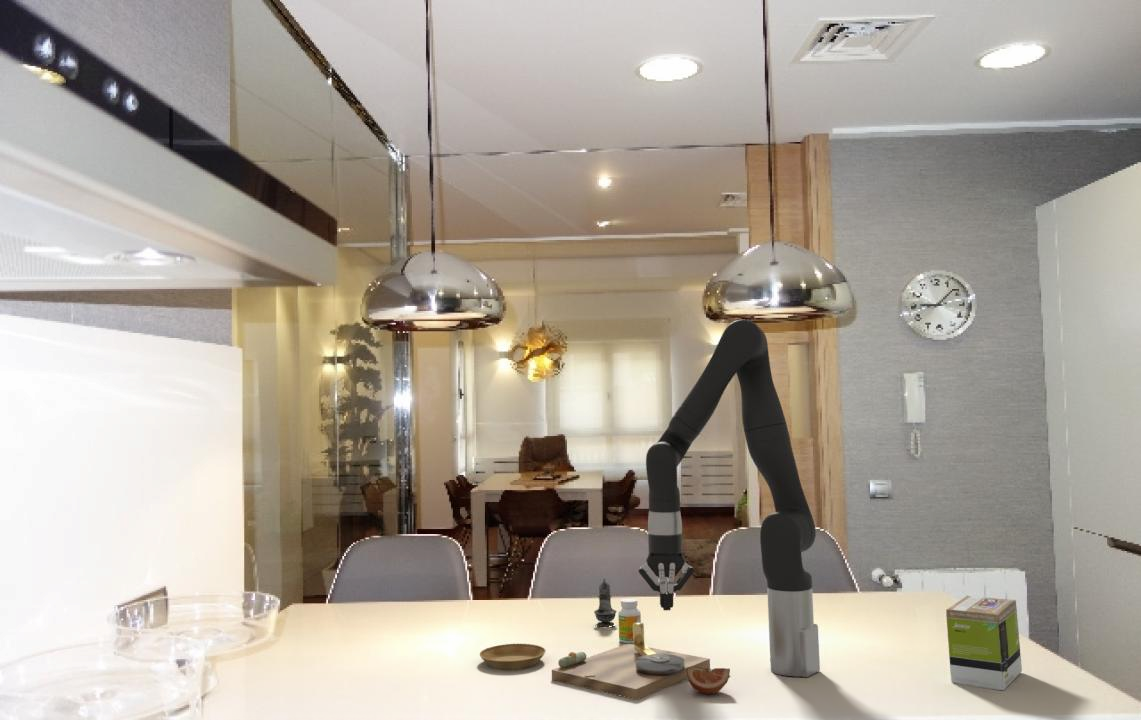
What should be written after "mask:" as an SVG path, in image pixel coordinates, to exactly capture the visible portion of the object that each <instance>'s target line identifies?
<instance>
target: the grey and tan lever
mask: <svg viewBox="0 0 1141 720" xmlns="http://www.w3.org/2000/svg"><path fill="white" fill-rule="evenodd" d="M632 644H633V645H634V649H635V650H636V651H637V652H638V653H639V654H641V655H642V656H641V657H638V658H637V659H636V669H637V670H638V671H639V672H642V673H646V674H652V675H668V674H675V673H679V672H681V671H683V670H684V669H685V664H684V659H683V658H682V657H680V656H676V655H671V654H656V653H655V652H654V651H652V650H651V649H650V648H651V647H649V646H648V645H646V644H645V624H644V623H643V622H641V623H640V622H637V623H633V643H632ZM648 647H649V648H648Z"/></svg>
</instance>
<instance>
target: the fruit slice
mask: <svg viewBox="0 0 1141 720" xmlns="http://www.w3.org/2000/svg"><path fill="white" fill-rule="evenodd" d="M730 672H731V668H726V667H725V668H723V667H722V668H721V667H717V668H713V669H706V668H697V667H687V678H686V679H687V680H688V683H689V685H690V686H691V687H692V688H693V690H695V691H697V692H699V693H702V694H706V695H708V694H710V695H711V694H715V693H718V692H720V691H721V690H722V689H723V688H724V687H725V686H726V684H727V683H728V682H729V678H731V675H730V674H731V673H730Z"/></svg>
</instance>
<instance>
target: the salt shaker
mask: <svg viewBox="0 0 1141 720" xmlns="http://www.w3.org/2000/svg"><path fill="white" fill-rule="evenodd" d="M598 590H599V593H598V594H599V595H598V596H597V598H598V600H599V601H598V602H599V605H598V608H597V609H596V610H594V611H593V613H594V615H595V618H596V620H597V621H598V622H597V623H595V626H596V625H597V626H598V627H597V628H600V627H609V626H613V625H614V623H615V622H612V621H614V619H615V617H616V613H617V610H616V609H614V608H612V603H611V602H612V601H611V600H612V599H611V598H612V595H611V586H610V583H608V582H607V581H606V579H605V578H603V580H602V582H601V583H599V585H598Z"/></svg>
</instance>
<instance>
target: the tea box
mask: <svg viewBox="0 0 1141 720" xmlns="http://www.w3.org/2000/svg"><path fill="white" fill-rule="evenodd" d="M945 611H946V627H947V628H946V630H947V642H948V655H949V656H948V658H949V669H950V670H949V672H950V681H951V683H953V684H958V685H964V686H968V687H969V686H970V687H976V688H982V689H989V690H995V691H1004V690H1005V689H1007V687H1008V686H1009V685H1010V684H1011V683H1012V682H1013V681H1014V680H1015V679H1016V678H1017V677H1018V676H1019V675H1020V674H1021V673H1022V671H1023V666H1022V665H1023V664H1022V655H1021V643H1020V633H1019V623H1018V622H1019V620H1018V608H1017V600H1016V599H1006V598H996V597H986V596H985V597H983V596H971V595H966V596H964V597H962V599H960V600H959V601H957V602H956V603H954V604H953V605H951V606H950V607H948V608H947V609H946V610H945Z"/></svg>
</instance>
